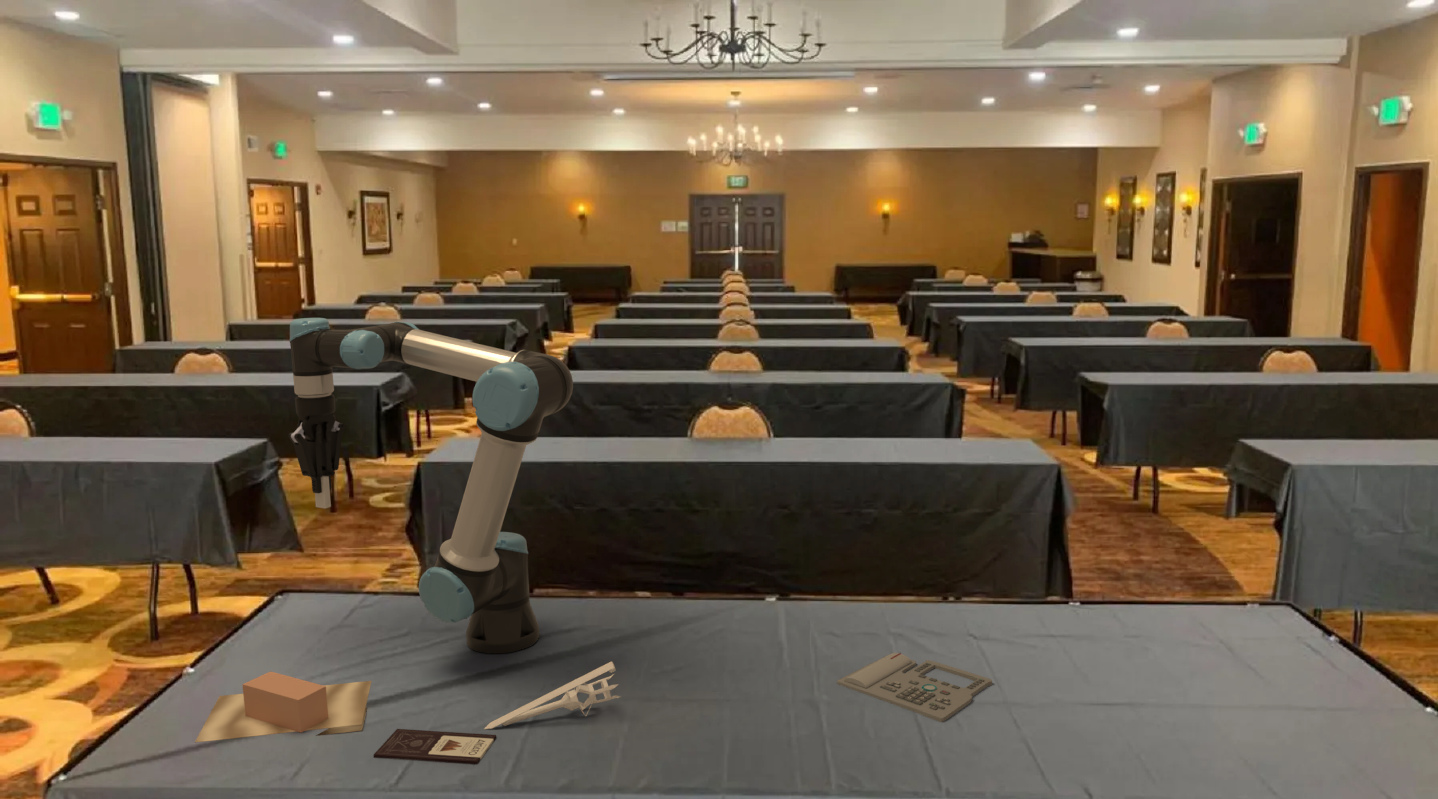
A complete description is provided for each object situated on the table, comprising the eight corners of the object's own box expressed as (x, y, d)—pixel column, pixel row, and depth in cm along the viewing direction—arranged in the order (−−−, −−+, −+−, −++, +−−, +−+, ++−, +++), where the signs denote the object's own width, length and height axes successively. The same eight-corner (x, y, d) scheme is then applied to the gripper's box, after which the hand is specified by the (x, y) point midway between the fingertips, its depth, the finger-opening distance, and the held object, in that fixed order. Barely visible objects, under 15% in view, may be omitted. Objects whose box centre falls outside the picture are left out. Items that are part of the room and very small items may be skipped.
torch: (507, 765, 190) (633, 701, 192) (487, 744, 184) (618, 678, 186) (499, 735, 195) (623, 673, 197) (479, 714, 188) (607, 650, 190)
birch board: (372, 686, 203) (371, 680, 203) (362, 730, 186) (361, 724, 186) (220, 702, 198) (219, 695, 197) (195, 748, 180) (194, 742, 180)
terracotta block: (242, 684, 188) (298, 700, 182) (270, 671, 194) (325, 686, 187) (245, 715, 189) (301, 732, 183) (273, 702, 195) (328, 718, 188)
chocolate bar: (397, 728, 186) (496, 734, 183) (397, 733, 186) (496, 740, 183) (373, 754, 177) (477, 761, 174) (373, 759, 177) (477, 766, 174)
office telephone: (835, 674, 202) (894, 642, 216) (835, 687, 203) (894, 655, 217) (942, 711, 186) (998, 674, 201) (942, 725, 187) (998, 687, 201)
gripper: (326, 388, 223) (334, 497, 227) (275, 398, 212) (285, 512, 216) (352, 390, 220) (360, 501, 224) (301, 401, 209) (311, 517, 213)
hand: (323, 506), depth 220 cm, fingers closed
